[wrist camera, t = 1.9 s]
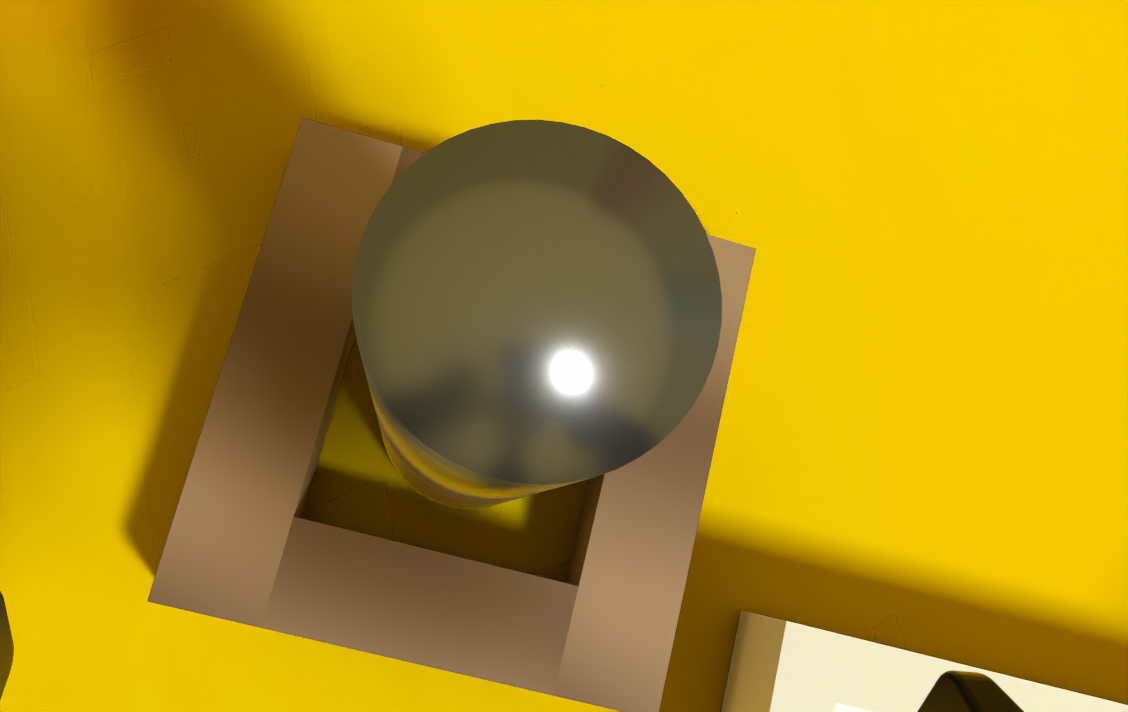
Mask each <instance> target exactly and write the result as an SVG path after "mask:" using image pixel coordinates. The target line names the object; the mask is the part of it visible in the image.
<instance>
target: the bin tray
mask: <svg viewBox="0 0 1128 712" xmlns="http://www.w3.org/2000/svg"><path fill="white" fill-rule="evenodd" d="M951 670H954V671H965V672H977V673H981V674H984V675H987V676H988V677H990V678H991V679H992V680H993V681H994V682H996V683H997V684H998V685H999V686H1000V687H1001V689H1002V690H1003V691H1004V692H1005V693H1006V694H1007V695H1008V696H1009V697H1010V698H1011V699H1012V700H1013V701H1014V702H1015V703H1016V704H1017V705H1018V706H1019V707H1020V708H1021V709H1022V710H1023V711H1024V712H1128V705H1125V704H1121V703H1117V702H1113V701H1109V700H1105V699H1101V698H1097V697H1093V696H1089V695H1085V694H1081V693H1077V692H1073V691H1069V690H1065V689H1060V688H1056V687H1052V686H1048V685H1044V684H1040V683H1036V682H1032V681H1028V680H1024V679H1020V678H1016V677H1012V676H1008V675H1004V674H1000V673H996V672H992V671H988V670H984V669H980V668H975V667H971V666H967V665H963V664H959V663H955V662H951V661H947V660H943V659H939V658H935V657H931V656H927V655H923V654H919V653H915V652H911V651H907V650H903V649H899V648H895V647H890V646H886V645H882V644H878V643H874V642H870V641H866V640H862V639H858V638H854V637H850V636H846V635H842V634H838V633H834V632H830V631H826V630H822V629H818V628H814V627H810V626H805V625H801V624H797V623H793V622H789V621H785V620H781V619H777V618H773V617H768V616H764V615H760V614H756V613H752V612H748V611H743V610H741V613H740V618H739V624H738V629H737V634H736V639H735V644H734V649H733V654H732V659H731V664H730V669H729V674H728V679H727V684H726V690H725V695H724V700H723V705H722V710H721V712H917V711H918V710H919V708H920V706H921V705H922V703H923V702H924V700H925V699H926V697H927V695H928V694H929V692H930V691H931V689H932V688H933V686H934V684H935V683H936V681H937V680H938V678H939V677H940V676H941V675H942V674H943V673H945V672H947V671H951Z"/></svg>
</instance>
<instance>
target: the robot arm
mask: <svg viewBox="0 0 1128 712" xmlns="http://www.w3.org/2000/svg"><path fill="white" fill-rule="evenodd" d="M13 654H14V646H13V640H12V635H11V630H10V625H9V621H8V616H7V611H6V606H5V602H4V598H3V595H2V593H1V592H0V699H1V697H2V694H3V691H4V688H5V685H6V682H7V679H8V676H9V673H10V670H11V666H12V662H13ZM917 712H1024V711H1023V710H1022V709H1021V708H1020V707H1019V706H1018V705H1017V704H1016V703H1015V702H1014V701H1013V700H1012V699H1011V698H1010V697H1009V696H1008V695H1007V694H1006V693H1005V692H1004V691H1003V690H1002V689H1001V687H1000V686H999V685H998V684H997V683H996V682H994V681H993V680H992V679H991V678H990V677H988V676H987V675H984V674H981V673H977V672H965V671H954V670H951V671H947V672H945V673H943V674H942V675H941V676H940V677H939V678H938V680H937V681H936V683H935V684H934V686H933V688H932V689H931V691H930V692H929V694H928V695H927V697H926V699H925V700H924V702H923V703H922V705H921V706H920V708H919V710H918V711H917Z"/></svg>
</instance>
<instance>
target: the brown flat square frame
mask: <svg viewBox="0 0 1128 712" xmlns="http://www.w3.org/2000/svg"><path fill="white" fill-rule="evenodd" d="M424 154H425V153H424V152H420V151H417V150H413V149H410V148H406V147H403V146H399V145H396V144H392V143H389V142H386V141H382V140H379V139H375V138H372V137H368V136H365V135H361V134H358V133H354V132H351V131H348V130H344V129H341V128H337V127H334V126H330V125H327V124H323V123H320V122H316V121H313V120H310V119H306V118H303V117H302V120H301V123H300V126H299V129H298V132H297V135H296V139H295V142H294V145H293V148H292V151H291V154H290V157H289V160H288V163H287V167H286V170H285V173H284V176H283V179H282V182H281V185H280V188H279V192H278V195H277V198H276V201H275V204H274V207H273V210H272V213H271V217H270V220H269V223H268V226H267V229H266V232H265V235H264V238H263V241H262V245H261V248H260V251H259V254H258V257H257V260H256V263H255V266H254V270H253V273H252V276H251V279H250V282H249V285H248V288H247V291H246V294H245V298H244V301H243V304H242V307H241V310H240V313H239V316H238V319H237V323H236V326H235V329H234V332H233V335H232V338H231V341H230V344H229V347H228V351H227V354H226V357H225V360H224V363H223V366H222V369H221V372H220V376H219V379H218V382H217V385H216V388H215V391H214V394H213V397H212V400H211V404H210V407H209V410H208V413H207V416H206V419H205V422H204V425H203V429H202V432H201V435H200V438H199V441H198V444H197V447H196V450H195V453H194V457H193V460H192V463H191V466H190V469H189V472H188V475H187V478H186V482H185V485H184V488H183V491H182V494H181V497H180V500H179V503H178V507H177V510H176V513H175V516H174V519H173V522H172V525H171V528H170V531H169V535H168V538H167V541H166V544H165V547H164V550H163V553H162V556H161V560H160V563H159V566H158V569H157V572H156V575H155V578H154V581H153V584H152V588H151V591H150V594H149V597H148V600H147V601H148V602H152V603H157V604H161V605H165V606H170V607H174V608H178V609H183V610H187V611H191V612H195V613H200V614H204V615H208V616H213V617H217V618H221V619H226V620H230V621H234V622H239V623H243V624H247V625H251V626H256V627H260V628H264V629H269V630H273V631H277V632H282V633H286V634H290V635H295V636H299V637H303V638H308V639H312V640H316V641H320V642H325V643H329V644H333V645H338V646H342V647H346V648H351V649H355V650H359V651H364V652H368V653H372V654H377V655H381V656H385V657H389V658H394V659H398V660H402V661H407V662H411V663H415V664H420V665H424V666H428V667H433V668H437V669H441V670H445V671H450V672H454V673H458V674H463V675H467V676H471V677H476V678H480V679H484V680H489V681H493V682H497V683H502V684H506V685H510V686H514V687H519V688H523V689H527V690H532V691H536V692H540V693H545V694H549V695H553V696H558V697H562V698H566V699H571V700H575V701H579V702H583V703H588V704H592V705H596V706H601V707H605V708H609V709H614V710H618V711H622V712H659V708H660V704H661V699H662V694H663V689H664V684H665V680H666V675H667V670H668V665H669V661H670V656H671V651H672V646H673V642H674V637H675V632H676V627H677V622H678V618H679V613H680V608H681V603H682V599H683V594H684V589H685V584H686V580H687V575H688V570H689V565H690V560H691V556H692V551H693V546H694V541H695V537H696V532H697V527H698V522H699V518H700V513H701V508H702V503H703V498H704V494H705V489H706V484H707V479H708V475H709V470H710V465H711V460H712V456H713V451H714V446H715V441H716V436H717V432H718V427H719V422H720V417H721V413H722V408H723V403H724V398H725V394H726V389H727V384H728V379H729V374H730V370H731V365H732V360H733V355H734V351H735V346H736V341H737V336H738V332H739V327H740V322H741V317H742V312H743V308H744V303H745V298H746V293H747V289H748V284H749V279H750V274H751V270H752V265H753V260H754V255H755V250H756V249H755V248H752V247H748V246H745V245H741V244H738V243H734V242H731V241H727V240H724V239H721V238H717V237H714V236H710V235H707V237H708V240H709V242H710V245H711V247H712V250H713V253H714V256H715V260H716V264H717V268H718V272H719V277H720V285H721V294H722V324H721V331H720V338H719V344H718V348H717V352H716V355H715V359H714V362H713V366H712V369H711V371H710V373H709V376H708V378H707V380H706V383H705V385H704V387H703V389H702V391H701V393H700V394H699V396H698V398H697V399H696V401H695V403H694V404H693V406H692V408H691V409H690V410H689V412H688V413H687V414H686V415H685V417H684V418H683V419H682V420H681V422H680V423H679V424H678V425H677V427H676V428H675V429H674V430H673V431H671V432H670V433H669V434H668V435H667V436H666V437H665V438H664V439H663V440H662V441H661V442H660V443H659V444H657V445H656V446H655V447H653V448H652V449H650V450H649V451H648V452H646V453H645V454H643V455H642V456H641V457H639V458H637V459H636V460H634V461H632V462H630V463H628V464H626V465H624V466H622V467H620V468H618V469H616V470H613V471H611V472H608V473H605V474H602V475H600V476H597V477H594V478H591V479H590V482H589V487H588V491H587V495H586V499H585V504H584V508H583V512H582V516H581V521H580V525H579V529H578V534H577V538H576V542H575V546H574V551H573V555H572V559H571V563H570V568H569V572H568V576H567V580H566V582H563V581H559V580H555V579H550V578H546V577H542V576H538V575H534V574H530V573H526V572H522V571H518V570H514V569H510V568H506V567H501V566H497V565H493V564H489V563H485V562H481V561H477V560H473V559H469V558H465V557H461V556H457V555H453V554H448V553H444V552H440V551H436V550H432V549H428V548H424V547H420V546H416V545H412V544H408V543H404V542H400V541H395V540H391V539H387V538H383V537H379V536H375V535H371V534H367V533H363V532H359V531H355V530H351V529H347V528H342V527H338V526H334V525H330V524H326V523H322V522H318V521H314V520H310V519H306V518H302V515H303V512H304V509H305V505H306V502H307V498H308V495H309V492H310V488H311V485H312V481H313V478H314V475H315V471H316V468H317V464H318V461H319V458H320V454H321V451H322V447H323V444H324V441H325V437H326V434H327V430H328V427H329V424H330V420H331V417H332V413H333V410H334V407H335V403H336V400H337V396H338V393H339V389H340V386H341V383H342V379H343V376H344V372H345V369H346V366H347V362H348V359H349V355H350V352H351V349H352V345H353V342H354V338H355V335H356V333H355V328H354V323H353V315H352V296H351V292H352V280H353V269H354V264H355V260H356V255H357V251H358V247H359V244H360V241H361V238H362V236H363V233H364V230H365V228H366V225H367V222H368V221H369V219H370V217H371V215H372V213H373V211H374V210H375V208H376V206H377V204H378V202H379V201H380V199H381V198H382V197H383V195H384V194H385V193H386V191H387V190H388V189H389V187H390V186H391V184H392V183H393V182H394V181H395V180H396V179H397V178H398V177H399V176H400V175H401V174H402V173H403V172H404V171H405V170H406V169H407V168H408V167H409V166H410V165H411V164H412V163H413V162H415V161H416V160H417V159H419V158H420V157H421V156H422V155H424Z"/></svg>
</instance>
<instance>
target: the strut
mask: <svg viewBox="0 0 1128 712" xmlns="http://www.w3.org/2000/svg"><path fill="white" fill-rule="evenodd" d="M351 296H352V315H353V323H354V328H355V333H356V338H357V343H358V347H359V351H360V355H361V358H362V362H363V366H364V370H365V374H366V377H367V381H368V385H369V389H370V393H371V396H372V400H373V404H374V408H375V412H376V415H377V419H378V423H379V427H380V431H381V434H382V438H383V442H384V445H385V448H386V451H387V454H388V456H389V458H390V460H391V462H392V464H393V466H394V467H395V469H396V470H397V472H398V473H399V475H400V476H401V477H402V478H403V479H404V480H405V482H406V483H407V484H408V485H410V486H411V487H412V488H413V489H414V490H415V491H417V492H418V493H420V494H421V495H423V496H424V497H426V498H428V499H430V500H432V501H434V502H437V503H440V504H443V505H446V506H450V507H455V508H466V509H473V508H483V507H488V506H493V505H496V504H500V503H504V502H507V501H511V500H515V499H518V498H522V497H525V496H529V495H533V494H536V493H540V492H543V491H547V490H551V489H554V488H558V487H562V486H565V485H569V484H572V483H576V482H580V481H583V480H587V479H591V478H594V477H597V476H600V475H602V474H605V473H608V472H611V471H613V470H616V469H618V468H620V467H622V466H624V465H626V464H628V463H630V462H632V461H634V460H636V459H637V458H639V457H641V456H642V455H643V454H645V453H646V452H648V451H649V450H650V449H652V448H653V447H655V446H656V445H657V444H659V443H660V442H661V441H662V440H663V439H664V438H665V437H666V436H667V435H668V434H669V433H670V432H671V431H673V430H674V429H675V428H676V427H677V425H678V424H679V423H680V422H681V420H682V419H683V418H684V417H685V415H686V414H687V413H688V412H689V410H690V409H691V408H692V406H693V404H694V403H695V401H696V399H697V398H698V396H699V394H700V393H701V391H702V389H703V387H704V385H705V383H706V380H707V378H708V376H709V373H710V371H711V369H712V366H713V362H714V359H715V355H716V352H717V348H718V344H719V338H720V331H721V324H722V294H721V285H720V277H719V272H718V268H717V264H716V260H715V256H714V253H713V250H712V247H711V245H710V242H709V240H708V237H707V234H706V232H705V230H704V228H703V226H702V224H701V222H700V221H699V219H698V217H697V215H696V213H695V211H694V210H693V208H692V207H691V206H690V204H689V203H688V201H687V200H686V198H685V197H684V196H683V194H682V193H681V192H680V190H679V189H678V188H677V187H676V186H675V185H674V184H673V183H672V182H671V181H670V179H669V178H668V177H667V176H666V175H665V174H664V173H663V172H662V171H660V170H659V169H658V168H657V167H656V166H655V165H653V164H652V163H651V162H650V161H649V160H648V159H646V158H645V157H643V156H642V155H640V154H639V153H637V152H636V151H634V150H633V149H631V148H630V147H628V146H626V145H624V144H622V143H621V142H619V141H617V140H615V139H613V138H611V137H609V136H607V135H604V134H601V133H598V132H596V131H593V130H590V129H587V128H584V127H580V126H576V125H571V124H567V123H563V122H554V121H544V120H515V121H508V122H501V123H494V124H490V125H486V126H483V127H479V128H475V129H472V130H469V131H466V132H464V133H462V134H459V135H457V136H455V137H452V138H450V139H448V140H446V141H444V142H443V143H441V144H439V145H437V146H436V147H434V148H432V149H431V150H429V151H427V152H426V153H425V154H424V155H422V156H421V157H420V158H419V159H417V160H416V161H415V162H413V163H412V164H411V165H410V166H409V167H408V168H407V169H406V170H405V171H404V172H403V173H402V174H401V175H400V176H399V177H398V178H397V179H396V180H395V181H394V182H393V183H392V184H391V186H390V187H389V189H388V190H387V191H386V193H385V194H384V195H383V197H382V198H381V199H380V201H379V202H378V204H377V206H376V208H375V210H374V211H373V213H372V215H371V217H370V219H369V221H368V222H367V225H366V228H365V230H364V233H363V236H362V238H361V241H360V244H359V247H358V251H357V255H356V260H355V264H354V269H353V280H352V292H351Z"/></svg>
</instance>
